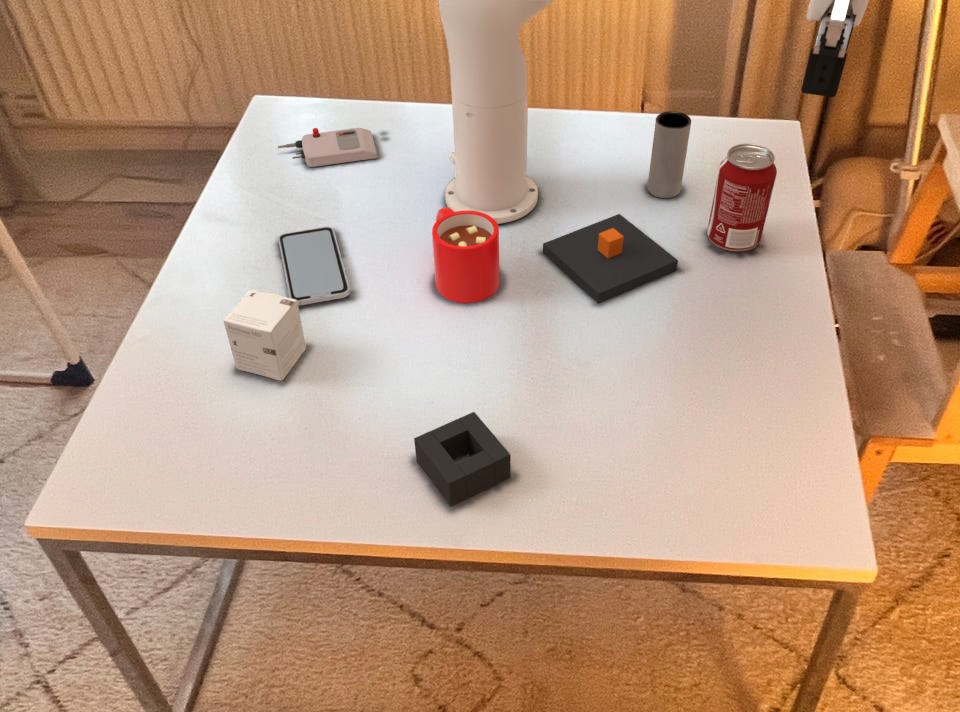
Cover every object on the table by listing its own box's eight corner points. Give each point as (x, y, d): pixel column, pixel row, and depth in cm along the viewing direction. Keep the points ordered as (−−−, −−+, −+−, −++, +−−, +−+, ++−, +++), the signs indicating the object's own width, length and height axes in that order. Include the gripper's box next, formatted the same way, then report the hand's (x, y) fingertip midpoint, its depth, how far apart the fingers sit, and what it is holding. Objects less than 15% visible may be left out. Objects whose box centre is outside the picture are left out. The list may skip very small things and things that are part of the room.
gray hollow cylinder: (687, 191, 127) (698, 121, 119) (662, 202, 125) (672, 132, 117) (665, 176, 129) (674, 107, 121) (640, 187, 127) (648, 117, 120)
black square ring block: (416, 461, 95) (413, 438, 92) (475, 434, 97) (474, 411, 94) (450, 506, 91) (448, 483, 88) (510, 477, 93) (510, 454, 90)
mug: (465, 239, 120) (463, 186, 114) (511, 290, 113) (511, 235, 107) (411, 258, 118) (405, 204, 112) (454, 310, 111) (450, 256, 105)
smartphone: (333, 225, 122) (351, 292, 112) (334, 231, 123) (352, 298, 112) (276, 234, 121) (290, 302, 111) (278, 240, 121) (291, 309, 111)
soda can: (759, 258, 116) (780, 173, 107) (705, 252, 117) (721, 168, 108) (759, 227, 121) (779, 143, 112) (707, 222, 122) (722, 138, 113)
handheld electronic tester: (390, 157, 134) (388, 138, 132) (281, 172, 132) (278, 153, 130) (383, 134, 139) (381, 115, 137) (278, 148, 137) (274, 129, 135)
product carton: (235, 370, 105) (220, 320, 99) (262, 336, 108) (249, 286, 103) (283, 382, 103) (270, 332, 98) (308, 348, 107) (297, 297, 101)
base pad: (542, 253, 118) (543, 226, 115) (618, 223, 122) (621, 196, 119) (598, 303, 111) (600, 276, 108) (676, 270, 115) (681, 243, 112)
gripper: (841, -161, 84) (797, 28, 97) (817, -97, 74) (771, 106, 86) (928, -154, 82) (872, 38, 95) (916, -88, 72) (855, 119, 84)
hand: (824, 70), depth 91 cm, fingers open, 9 cm apart
